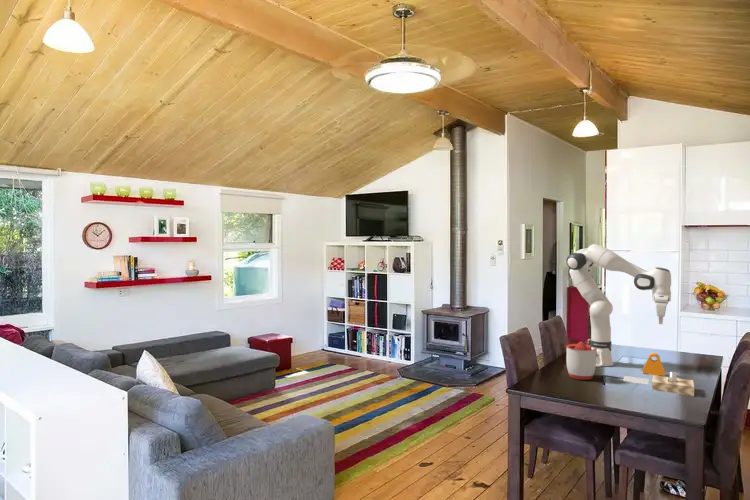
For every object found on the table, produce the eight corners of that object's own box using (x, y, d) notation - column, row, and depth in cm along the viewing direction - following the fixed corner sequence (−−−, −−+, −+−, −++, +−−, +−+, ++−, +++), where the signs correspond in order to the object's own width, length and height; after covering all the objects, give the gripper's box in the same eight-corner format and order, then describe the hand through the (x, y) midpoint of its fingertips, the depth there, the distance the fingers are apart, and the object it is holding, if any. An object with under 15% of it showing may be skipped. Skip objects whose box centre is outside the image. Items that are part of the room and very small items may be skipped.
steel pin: (669, 390, 258) (669, 372, 258) (669, 388, 261) (669, 371, 261) (676, 391, 257) (676, 373, 257) (676, 389, 259) (676, 371, 259)
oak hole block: (652, 390, 257) (652, 381, 257) (652, 383, 269) (652, 375, 269) (694, 396, 248) (694, 387, 248) (692, 389, 260) (693, 380, 260)
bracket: (665, 374, 289) (665, 353, 289) (664, 377, 283) (665, 355, 282) (643, 371, 294) (643, 351, 294) (642, 374, 288) (643, 353, 288)
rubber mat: (622, 381, 273) (622, 381, 273) (624, 376, 283) (624, 375, 283) (648, 385, 267) (648, 384, 267) (649, 379, 277) (649, 378, 277)
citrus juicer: (604, 381, 274) (605, 344, 274) (573, 381, 273) (574, 344, 272) (590, 373, 290) (591, 338, 289) (560, 373, 288) (561, 338, 288)
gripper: (655, 295, 289) (654, 319, 289) (654, 299, 271) (653, 324, 271) (668, 296, 285) (667, 320, 286) (668, 299, 268) (667, 326, 268)
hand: (660, 322), depth 278 cm, fingers open, 8 cm apart
